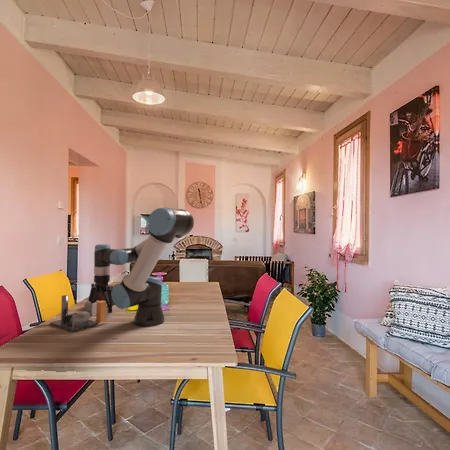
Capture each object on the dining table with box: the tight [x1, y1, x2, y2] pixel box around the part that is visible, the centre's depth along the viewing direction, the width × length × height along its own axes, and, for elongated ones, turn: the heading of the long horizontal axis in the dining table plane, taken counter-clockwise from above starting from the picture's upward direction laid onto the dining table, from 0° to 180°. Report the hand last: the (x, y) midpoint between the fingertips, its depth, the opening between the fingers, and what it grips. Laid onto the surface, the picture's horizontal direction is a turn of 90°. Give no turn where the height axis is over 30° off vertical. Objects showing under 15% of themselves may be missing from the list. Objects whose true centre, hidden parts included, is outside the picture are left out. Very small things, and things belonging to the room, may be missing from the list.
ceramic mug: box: [83, 299, 98, 313], centre depth 171 cm, size 11×8×8 cm
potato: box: [91, 293, 105, 301], centre depth 182 cm, size 9×12×9 cm
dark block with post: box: [49, 294, 99, 333], centre depth 149 cm, size 19×13×13 cm
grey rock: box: [72, 310, 92, 327], centre depth 146 cm, size 6×8×6 cm
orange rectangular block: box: [95, 301, 107, 324], centre depth 156 cm, size 3×3×10 cm
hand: (101, 317), depth 156 cm, fingers open, 11 cm apart
